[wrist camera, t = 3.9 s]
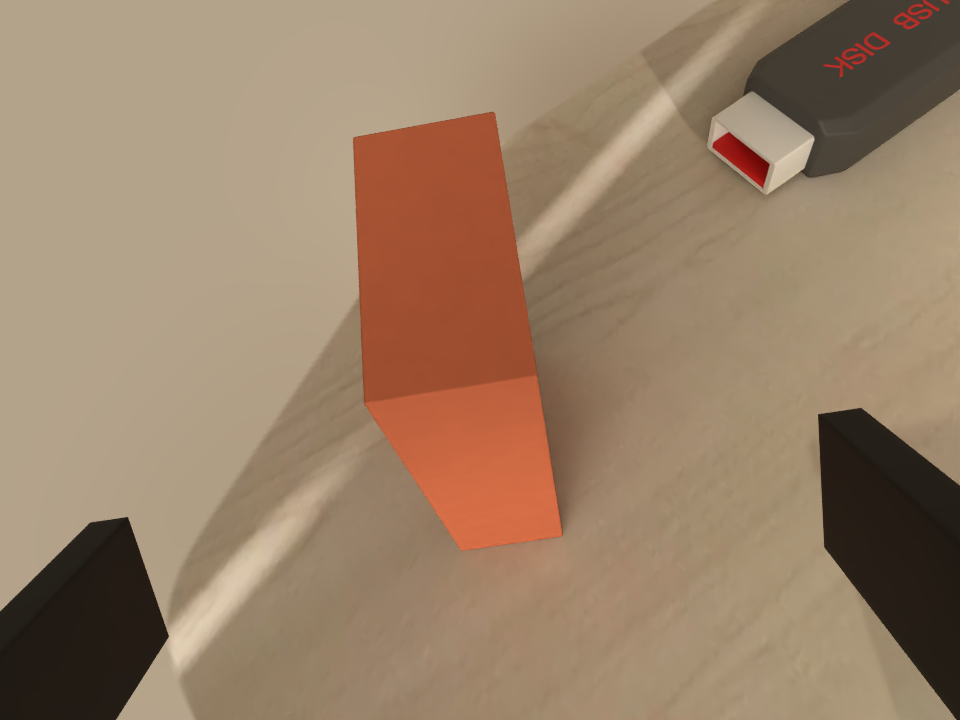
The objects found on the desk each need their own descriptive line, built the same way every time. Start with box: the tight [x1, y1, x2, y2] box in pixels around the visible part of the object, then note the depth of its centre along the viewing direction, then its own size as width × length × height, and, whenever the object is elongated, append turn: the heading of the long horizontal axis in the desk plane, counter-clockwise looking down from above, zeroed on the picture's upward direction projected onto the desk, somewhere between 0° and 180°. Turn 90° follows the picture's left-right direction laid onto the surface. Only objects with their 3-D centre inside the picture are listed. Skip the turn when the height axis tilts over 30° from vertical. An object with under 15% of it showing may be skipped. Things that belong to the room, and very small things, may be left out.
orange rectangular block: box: [353, 112, 563, 550], centre depth 22 cm, size 3×7×12 cm, turn 6°
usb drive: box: [707, 0, 960, 195], centre depth 31 cm, size 5×12×3 cm, turn 125°
